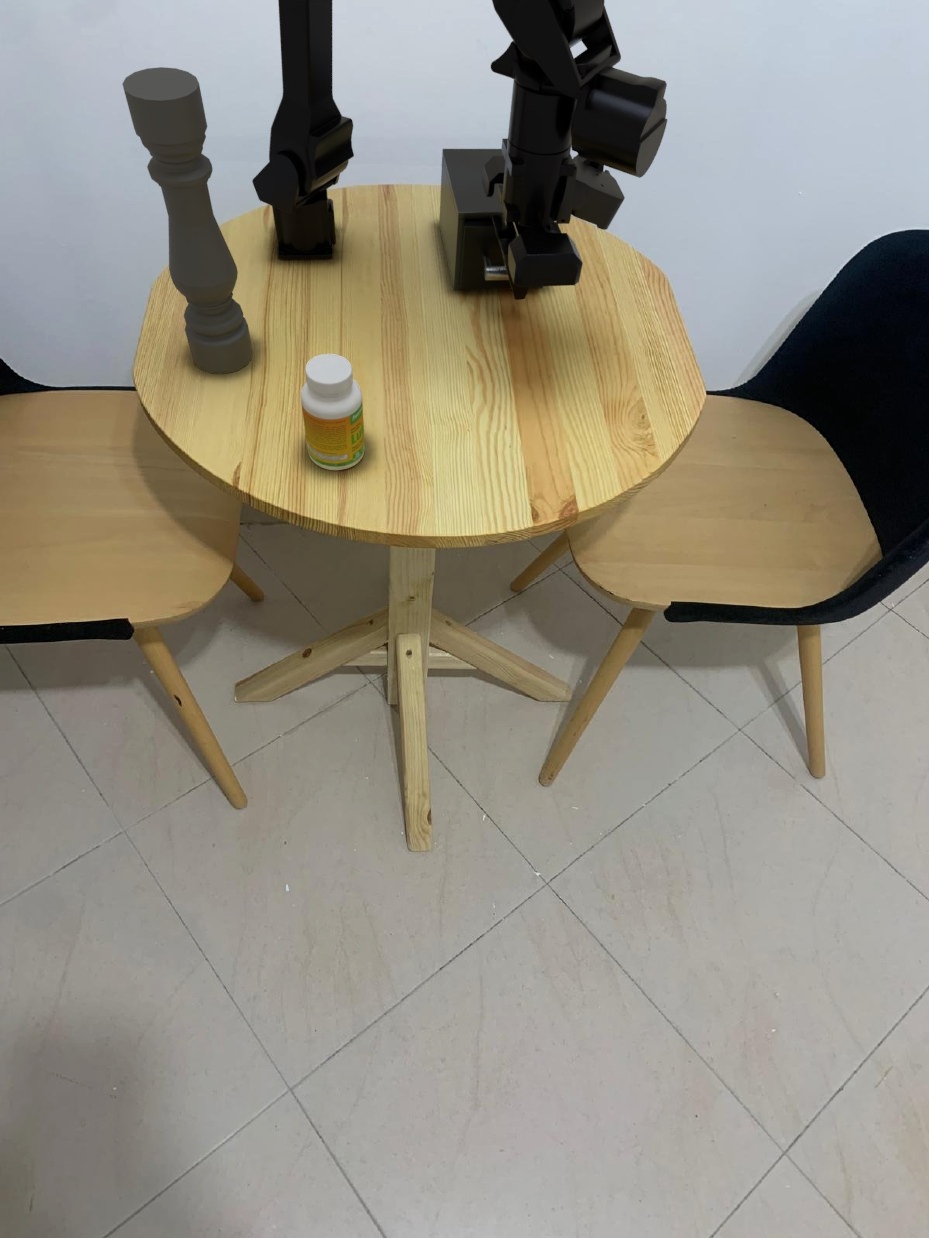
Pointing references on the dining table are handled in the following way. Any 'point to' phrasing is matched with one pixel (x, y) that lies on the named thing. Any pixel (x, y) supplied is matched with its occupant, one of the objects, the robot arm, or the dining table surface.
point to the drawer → (481, 257)
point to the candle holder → (190, 214)
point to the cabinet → (464, 200)
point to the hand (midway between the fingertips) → (518, 297)
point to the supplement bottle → (332, 413)
